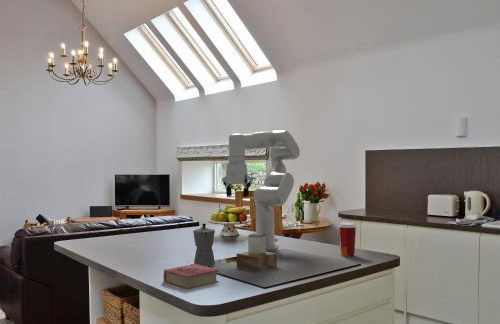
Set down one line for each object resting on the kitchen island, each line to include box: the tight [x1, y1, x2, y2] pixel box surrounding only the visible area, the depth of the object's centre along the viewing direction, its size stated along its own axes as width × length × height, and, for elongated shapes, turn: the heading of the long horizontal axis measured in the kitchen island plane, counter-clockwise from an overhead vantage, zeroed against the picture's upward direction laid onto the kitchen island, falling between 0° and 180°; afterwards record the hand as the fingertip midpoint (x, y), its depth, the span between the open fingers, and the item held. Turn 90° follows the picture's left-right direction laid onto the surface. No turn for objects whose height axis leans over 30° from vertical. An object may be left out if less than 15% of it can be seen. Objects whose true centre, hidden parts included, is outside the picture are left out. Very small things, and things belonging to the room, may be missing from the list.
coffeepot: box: [193, 223, 216, 267], centre depth 202 cm, size 15×9×18 cm, turn 13°
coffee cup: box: [337, 222, 357, 258], centre depth 219 cm, size 8×8×15 cm
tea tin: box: [247, 232, 267, 255], centre depth 197 cm, size 5×5×8 cm
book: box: [163, 263, 220, 290], centre depth 172 cm, size 14×15×5 cm
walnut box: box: [236, 251, 278, 272], centre depth 196 cm, size 12×12×6 cm
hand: (237, 196), depth 220 cm, fingers open, 9 cm apart
